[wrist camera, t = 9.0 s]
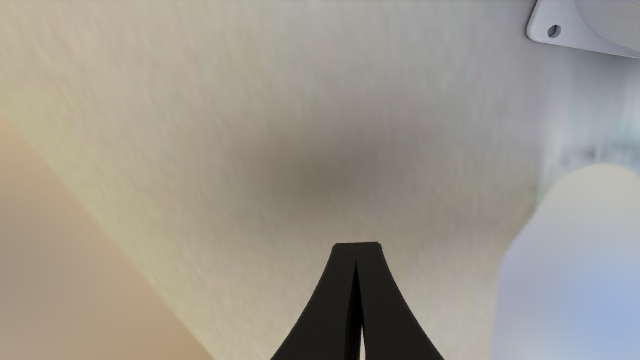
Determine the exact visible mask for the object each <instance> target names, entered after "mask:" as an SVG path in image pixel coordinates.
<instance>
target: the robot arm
mask: <svg viewBox="0 0 640 360" xmlns="http://www.w3.org/2000/svg"><path fill="white" fill-rule="evenodd" d="M553 25H556V26H557V30H556V32H555V33H554V34H553V35H552V36H548V34H547V33H548V30H549V28H550V27H551V26H553ZM526 32H527V36H528V37H529V38H530V39H532V40H534V41H536V42H542V43H548V44H554V45H560V46H565V47H571V48H577V49H583V50H589V51H595V52H601V53H607V54H613V55H619V56H625V57H631V58H636V59H640V0H538V1H537V3H536V6H535V8H534V11H533V13H532V16H531V18H530V21H529V23H528V26H527V30H526ZM362 329H363V338H364V346H365V360H444V358H443V357H442V356H441V355H440V353H439V352H438V351H437V349H436V348H435V346H434V345H433V344H432V342H431V341H430V339H429V338H428V337H427V335H426V334H425V332H424V331H423V329H422V328H421V326H420V325H419V323H418V322H417V320H416V318H415V317H414V315H413V314H412V312H411V310H410V309H409V307H408V305H407V303H406V302H405V300H404V298H403V296H402V294H401V292H400V291H399V289H398V287H397V285H396V283H395V281H394V279H393V277H392V275H391V272H390V270H389V268H388V265H387V263H386V260H385V258H384V255H383V251H382V247H381V244H379V243H378V242H359V243H336V244H335V245H334V246H333V248H332V251H331V254H330V257H329V260H328V262H327V265H326V267H325V270H324V272H323V274H322V276H321V278H320V280H319V282H318V284H317V286H316V288H315V290H314V292H313V294H312V296H311V298H310V300H309V302H308V304H307V305H306V307H305V309H304V310H303V312H302V314H301V316H300V317H299V319H298V321H297V322H296V324H295V325H294V327H293V328H292V330H291V332H290V333H289V335H288V336H287V338H286V339H285V340H284V342H283V343H282V345H281V346H280V347H279V349H278V350H277V352H276V353H275V354H274V355H273V357H272V358H271V359H270V360H360V345H361V330H362Z"/></svg>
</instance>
